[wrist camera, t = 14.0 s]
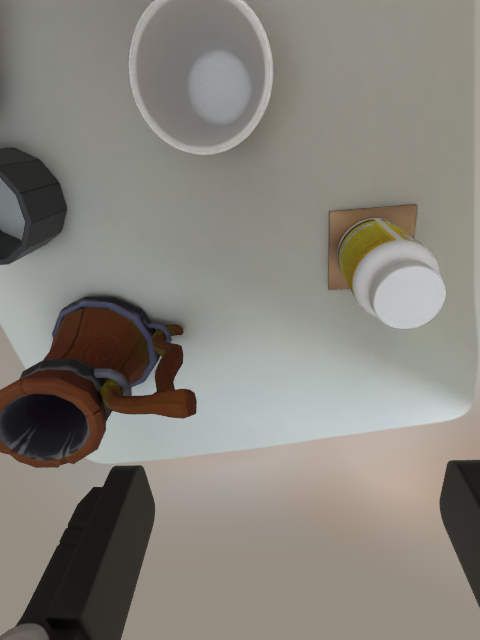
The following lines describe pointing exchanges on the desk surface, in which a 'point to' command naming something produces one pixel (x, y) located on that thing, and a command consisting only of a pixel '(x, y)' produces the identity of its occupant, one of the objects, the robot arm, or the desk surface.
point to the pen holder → (31, 203)
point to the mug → (90, 382)
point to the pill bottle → (391, 273)
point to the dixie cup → (201, 72)
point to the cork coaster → (348, 218)
